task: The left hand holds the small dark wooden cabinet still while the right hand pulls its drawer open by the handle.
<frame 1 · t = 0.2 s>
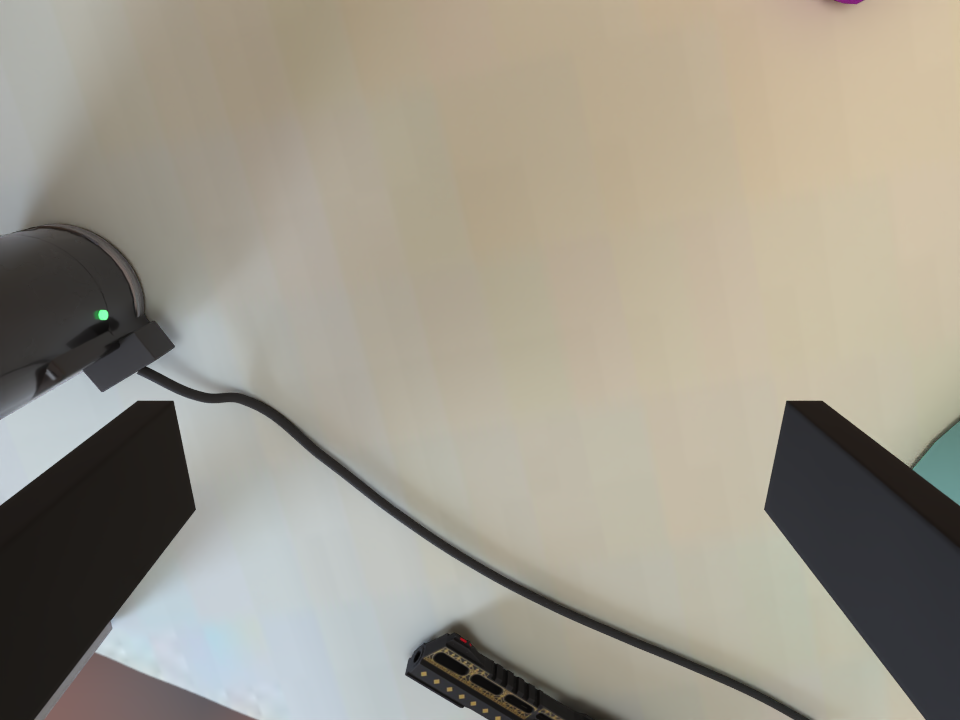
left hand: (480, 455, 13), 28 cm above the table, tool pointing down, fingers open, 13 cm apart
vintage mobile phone: (82, 607, 50), on the table
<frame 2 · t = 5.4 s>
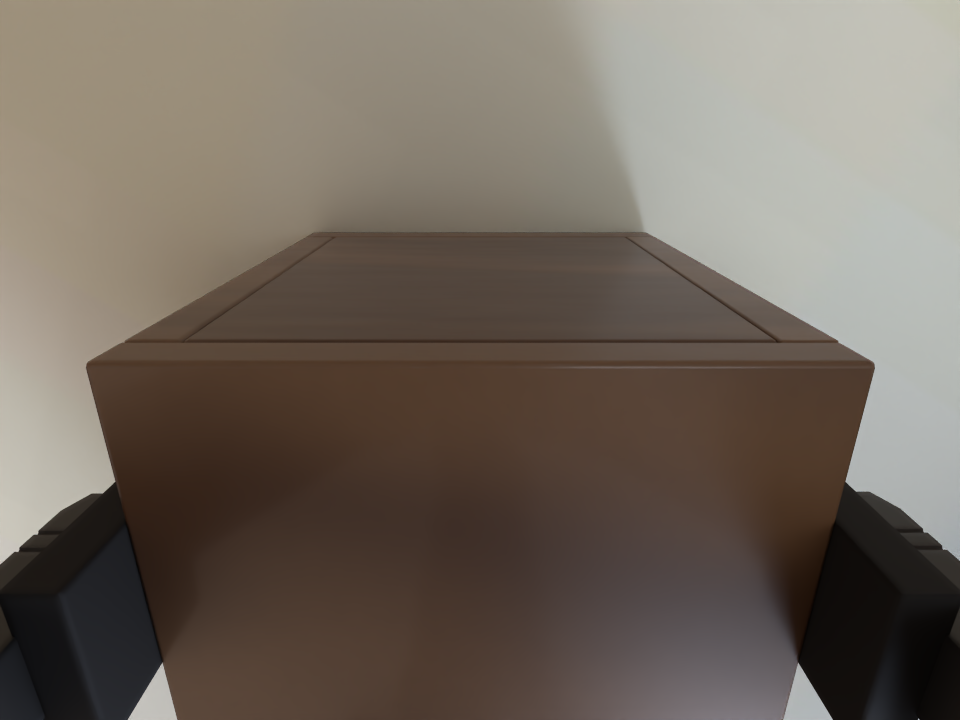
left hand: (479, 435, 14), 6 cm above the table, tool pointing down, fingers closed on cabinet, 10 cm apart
cabinet: (480, 483, 21), on the table, touching left hand
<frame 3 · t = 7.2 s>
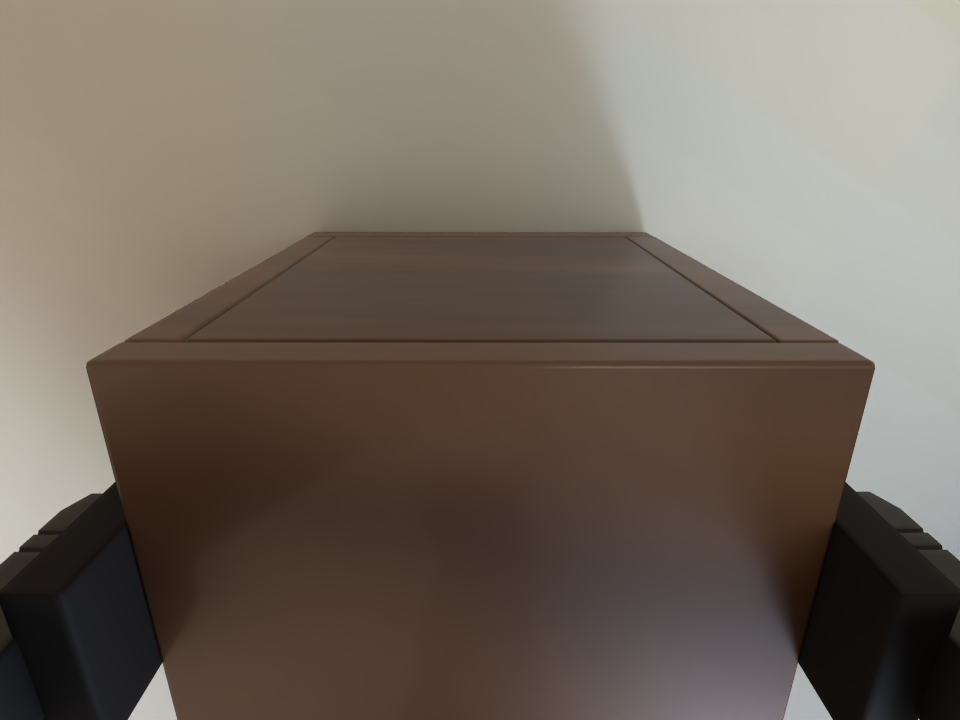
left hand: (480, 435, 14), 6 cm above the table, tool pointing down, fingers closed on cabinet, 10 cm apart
cabinet: (480, 483, 21), on the table, touching left hand
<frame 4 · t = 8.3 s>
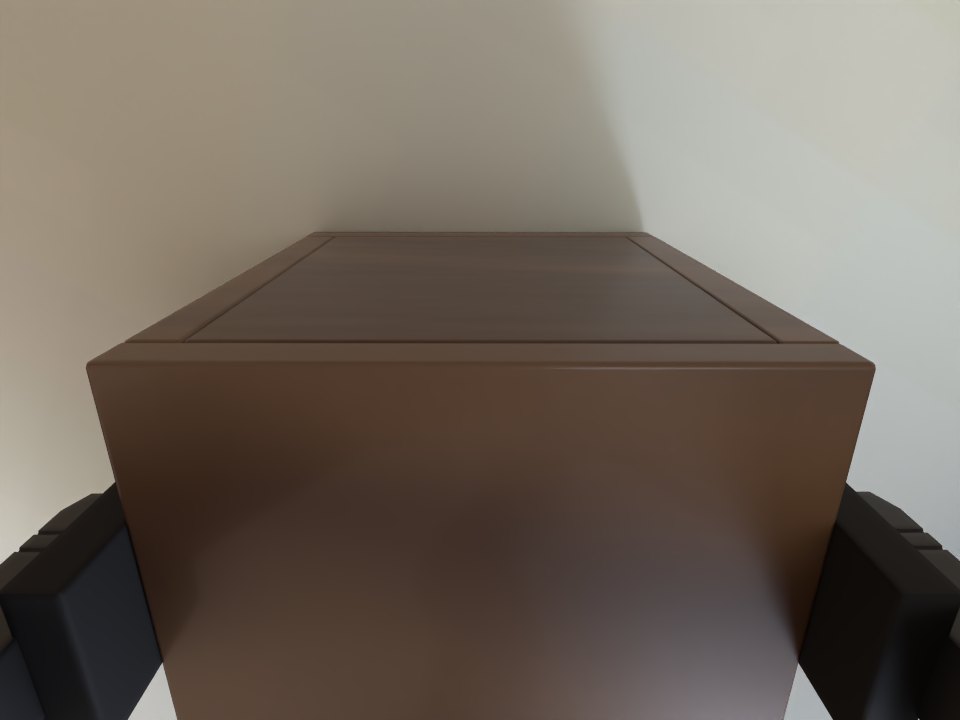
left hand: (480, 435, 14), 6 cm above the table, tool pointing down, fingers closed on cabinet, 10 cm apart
cabinet: (480, 482, 21), on the table, touching left hand
when the left hand's fingers open (6 cm above the table, at t = 10.1 s): cabinet stays where it is, on the table.
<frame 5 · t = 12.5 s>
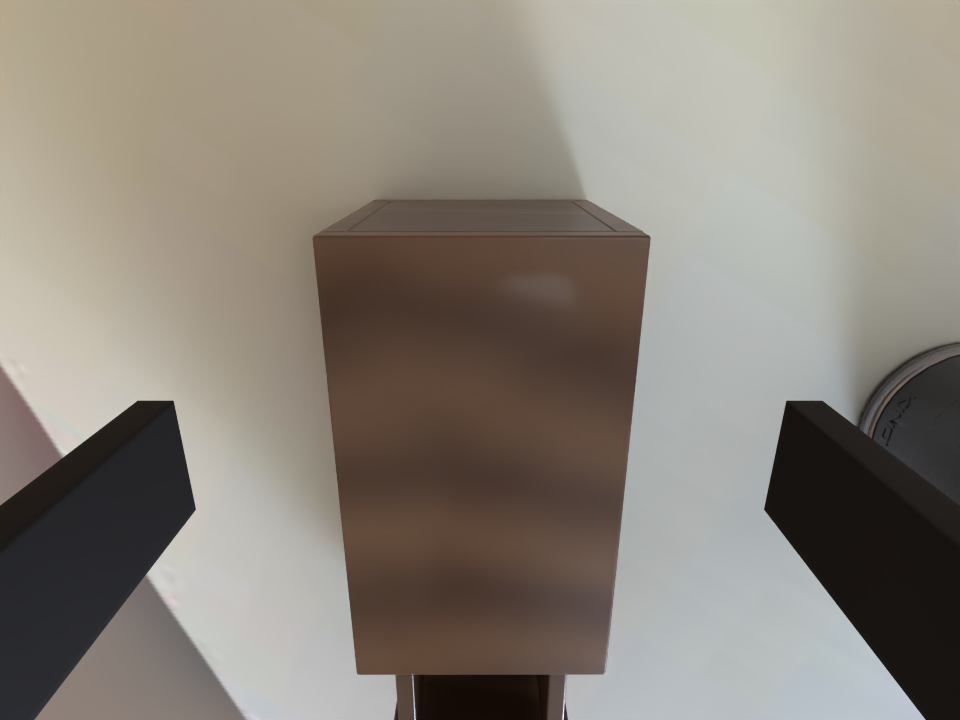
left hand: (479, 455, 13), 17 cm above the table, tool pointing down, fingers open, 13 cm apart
cabinet: (480, 372, 31), on the table
drawer: (480, 628, 30), point 5 cm above the table, slide at 7.5 cm
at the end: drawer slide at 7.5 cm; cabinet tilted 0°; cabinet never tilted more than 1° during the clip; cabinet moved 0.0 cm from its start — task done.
